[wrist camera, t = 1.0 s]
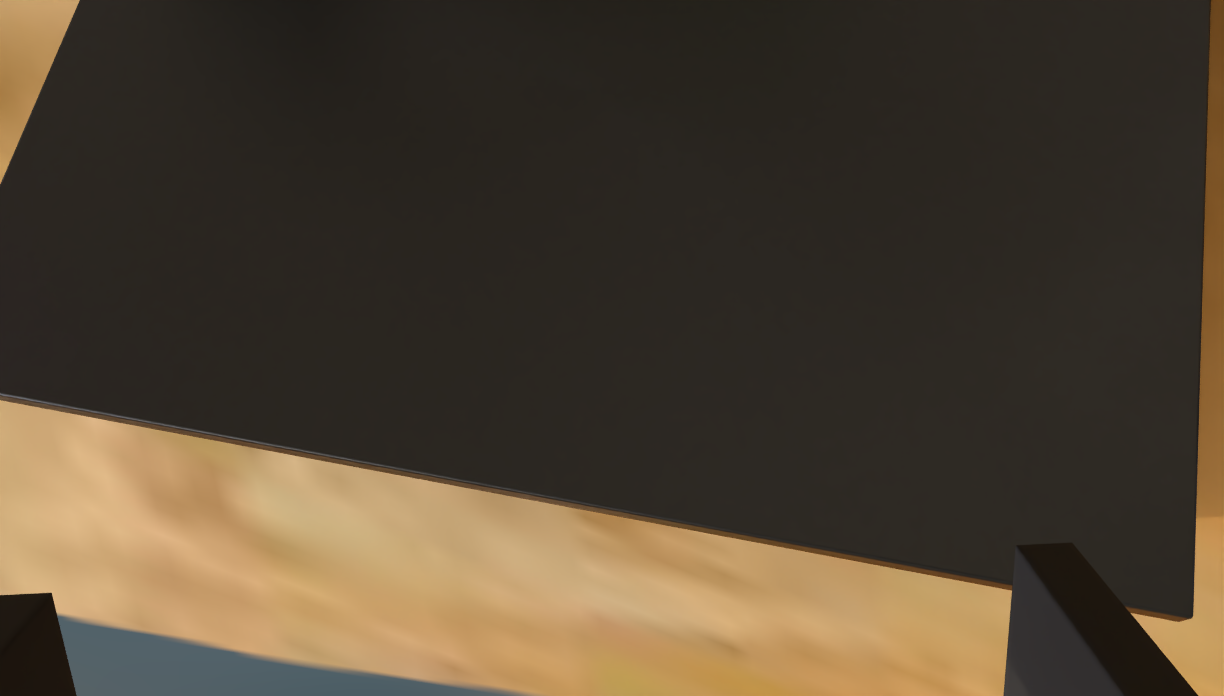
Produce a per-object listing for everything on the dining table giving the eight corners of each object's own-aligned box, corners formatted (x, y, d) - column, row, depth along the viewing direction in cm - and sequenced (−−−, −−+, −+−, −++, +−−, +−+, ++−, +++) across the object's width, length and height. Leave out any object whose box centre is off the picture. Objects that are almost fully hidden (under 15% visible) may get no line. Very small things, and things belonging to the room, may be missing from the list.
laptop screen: (1179, 623, 24) (1194, 618, 23) (-65, 388, 28) (-86, 379, 27) (1204, -135, 31) (1216, -158, 30) (201, -239, 35) (190, -261, 34)
